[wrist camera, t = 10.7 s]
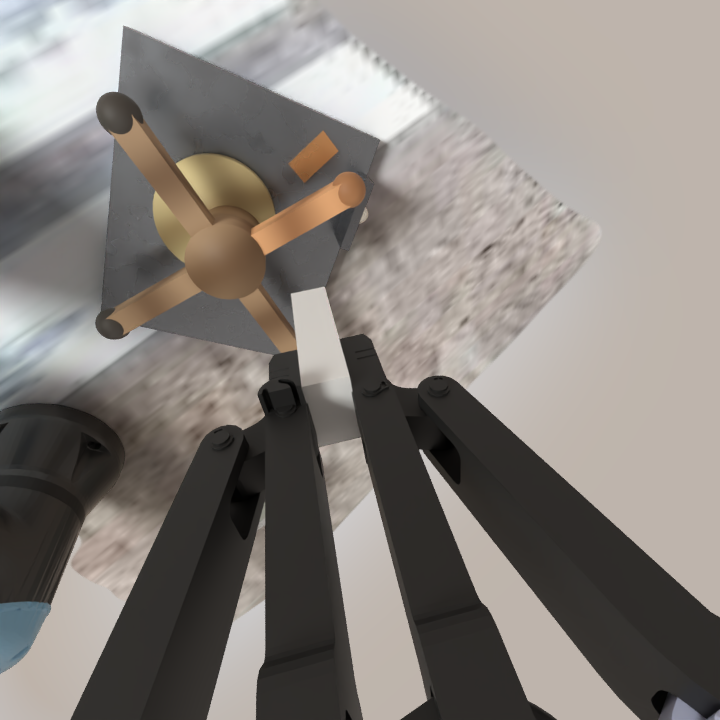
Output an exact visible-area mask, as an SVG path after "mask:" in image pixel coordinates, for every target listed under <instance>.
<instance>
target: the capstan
mask: <svg viewBox="0 0 720 720" xmlns="http://www.w3.org/2000/svg"><path fill="white" fill-rule="evenodd" d="M96 113H97V117H98V120H99V122H100V123H101V125H102V126H103V128H104V129H105V130H106V131H107V132H108V133H110V134H111V135H113V136H114V138H115V139H116V140H117V142H118V143H119V144H120V146H121V147H122V148H123V149H124V151H125V152H126V153H127V155H128V156H129V157H130V158H131V160H132V161H133V162H134V164H135V165H136V166H137V167H138V169H139V170H140V171H141V173H142V174H143V175H144V177H145V178H146V179H147V180H148V182H149V183H150V184H151V186H152V187H153V188H154V189H155V194H154V198H153V216H154V221H155V225H156V228H157V231H158V233H159V235H160V237H161V239H162V240H163V242H164V243H165V245H166V246H167V248H168V249H169V250H170V251H171V252H172V253H173V254H174V255H175V256H176V257H177V258H178V259H179V260H181V261H182V262H184V263H185V267H184V268H182V269H180V270H178V271H177V272H175V273H173V274H171V275H170V276H168V277H166V278H164V279H163V280H161V281H159V282H158V283H156V284H154V285H152V286H151V287H149V288H147V289H145V290H144V291H142V292H140V293H138V294H137V295H135V296H133V297H131V298H130V299H128V300H126V301H124V302H123V303H121V304H119V305H117V306H116V307H114V308H108V309H105V310H103V311H102V312H100V313H99V314H98V316H97V318H96V322H95V324H96V328H97V330H98V332H99V333H100V334H101V335H102V336H104V337H106V338H108V339H115V340H116V339H121V338H123V337H125V336H127V335H128V334H129V332H130V331H131V330H133V329H135V328H137V327H139V326H140V325H142V324H144V323H146V322H147V321H149V320H151V319H153V318H155V317H156V316H158V315H160V314H162V313H163V312H165V311H167V310H169V309H171V308H172V307H174V306H176V305H178V304H179V303H181V302H183V301H185V300H186V299H188V298H190V297H192V296H194V295H195V294H197V293H199V292H201V291H204V292H205V293H207V294H209V295H211V296H213V297H216V298H220V299H238V298H239V299H240V301H241V302H242V303H243V305H244V306H245V307H246V308H247V310H248V311H249V312H250V314H251V315H252V316H253V317H254V319H255V320H256V321H257V323H258V324H259V325H260V326H261V328H262V329H263V330H264V332H265V333H266V334H267V336H268V337H269V338H270V339H271V341H272V342H273V343H274V345H275V346H276V347H277V348H278V350H279V351H280V352H281V353H284V352H288V351H293V350H297V343H296V334H295V330H294V329H293V328H292V326H291V325H290V323H289V322H288V321H287V319H286V318H285V316H284V315H283V314H282V312H281V311H280V309H279V308H278V307H277V305H276V304H275V302H274V301H273V300H272V298H271V297H270V295H269V294H268V293H267V291H266V290H265V288H264V287H263V286H262V284H261V282H262V280H263V278H264V275H265V269H266V254H268V253H270V252H272V251H273V250H275V249H277V248H279V247H281V246H282V245H284V244H286V243H288V242H289V241H291V240H293V239H295V238H297V237H298V236H300V235H302V234H304V233H305V232H307V231H309V230H311V229H312V228H314V227H316V226H318V225H320V224H321V223H323V222H325V221H327V220H328V219H330V218H332V217H334V216H336V215H337V214H339V213H341V212H343V211H344V210H346V209H348V208H354V207H356V206H358V205H359V204H360V203H361V202H362V201H363V199H364V197H365V193H366V187H365V183H364V181H363V179H362V178H361V177H360V176H359V175H358V174H356V173H354V172H343V173H341V174H339V175H338V176H337V177H336V178H335V180H334V181H333V182H331V183H330V184H328V185H326V186H325V187H323V188H321V189H319V190H318V191H316V192H314V193H312V194H311V195H309V196H307V197H305V198H304V199H302V200H300V201H298V202H297V203H295V204H293V205H291V206H290V207H288V208H286V209H285V210H283V211H281V212H279V213H278V214H276V215H275V208H274V203H273V200H272V198H271V195H270V193H269V191H268V189H267V187H266V186H265V184H264V183H263V181H262V180H261V179H260V178H259V177H258V175H257V174H256V173H255V172H254V171H252V170H251V169H250V168H249V167H247V166H246V165H245V164H243V163H241V162H240V161H238V160H236V159H233V158H231V157H228V156H225V155H221V154H214V153H201V154H195V155H192V156H189V157H186V158H184V159H182V160H180V161H178V162H177V163H176V164H175V162H174V161H173V160H172V158H171V157H170V155H169V154H168V153H167V151H166V150H165V148H164V147H163V145H162V144H161V143H160V141H159V140H158V138H157V137H156V136H155V134H154V133H153V131H152V130H151V129H150V127H149V126H148V124H147V123H146V122H145V120H144V119H143V115H142V112H141V110H140V108H139V106H138V105H137V104H136V102H135V101H134V100H132V99H131V98H130V97H128V96H127V95H125V94H123V93H119V92H109V93H106V94H104V95H103V96H101V97H100V99H99V100H98V102H97V106H96Z"/></svg>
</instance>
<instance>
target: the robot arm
mask: <svg viewBox="0 0 720 720" xmlns="http://www.w3.org/2000/svg"><path fill="white" fill-rule="evenodd" d="M291 299H292V308H293V317H294V325H295V334H296V343H297V350H293V351H288V352H284V353H279V354H275V355H274V356H273V358H272V359H271V361H270V363H269V380H270V381H268V382H267V383H265V384H264V385H263V386H262V387H261V388H260V389H259V392H258V398H259V400H260V403H261V405H262V408H263V411H264V413H265V417H264V418H263V419H262V420H260V421H259V422H258V423H256V424H255V425H253V426H251V427H249V428H247V429H245V430H243V431H242V429H241V428H239V427H238V426H235V425H226V426H221V427H219V428H217V429H214V430H212V431H211V432H210V433H209V434H207V435H206V436H205V438H204V439H203V441H202V442H201V444H200V446H199V448H198V450H197V452H196V455H195V457H194V459H193V461H192V463H191V465H190V467H189V469H188V472H187V474H186V476H185V478H184V480H183V482H182V484H181V486H180V488H179V491H178V493H177V495H176V497H175V499H174V501H173V503H172V505H171V508H170V510H169V512H168V514H167V516H166V518H165V520H164V522H163V525H162V527H161V529H160V531H159V533H158V535H157V537H156V539H155V542H154V544H153V546H152V548H151V550H150V552H149V554H148V556H147V559H146V561H145V563H144V565H143V567H142V569H141V571H140V573H139V575H138V578H137V580H136V582H135V584H134V586H133V588H132V590H131V592H130V595H129V597H128V599H127V601H126V603H125V605H124V607H123V609H122V612H121V614H120V616H119V618H118V620H117V622H116V624H115V627H114V629H113V631H112V633H111V635H110V637H109V639H108V641H107V644H106V646H105V648H104V650H103V652H102V654H101V656H100V658H99V660H98V663H97V665H96V667H95V669H94V671H93V673H92V675H91V677H90V680H89V682H88V684H87V686H86V688H85V690H84V692H83V694H82V697H81V699H80V701H79V703H78V705H77V707H76V709H75V711H74V713H73V716H72V718H71V720H206V719H207V715H208V712H209V708H210V704H211V700H212V696H213V693H214V689H215V685H216V681H217V678H218V674H219V670H220V667H221V663H222V659H223V655H224V652H225V648H226V644H227V640H228V637H229V633H230V629H231V625H232V622H233V618H234V614H235V611H236V607H237V603H238V599H239V596H240V592H241V588H242V584H243V581H244V577H245V573H246V570H247V566H248V562H249V558H250V555H251V551H252V547H253V543H254V540H255V536H256V532H257V528H258V525H259V521H260V517H261V513H262V510H263V506H264V502H265V622H266V623H265V624H266V625H265V630H266V631H265V633H266V637H265V638H266V640H265V641H266V648H265V649H266V650H265V660H264V664H263V665H262V667H261V668H260V670H259V674H258V680H257V693H256V694H257V695H256V720H363V717H362V713H361V707H360V703H359V698H358V694H357V689H356V684H355V678H354V671H353V664H352V658H351V651H350V644H349V638H348V632H347V624H346V618H345V611H344V604H343V598H342V591H341V584H340V578H339V571H338V564H337V557H336V551H335V544H334V538H333V531H332V524H331V517H330V511H329V504H328V497H327V491H326V484H325V477H324V471H323V464H322V458H321V455H320V451H319V447H322V446H326V445H330V444H335V443H339V442H343V441H347V440H351V439H355V438H360V437H361V438H362V443H363V448H364V454H365V459H366V464H368V468H369V472H370V476H371V480H372V484H373V487H374V491H375V495H376V499H377V503H378V507H379V511H380V515H381V518H382V522H383V526H384V530H385V534H386V537H387V542H388V545H389V549H390V553H391V557H392V561H393V565H394V569H395V573H396V577H397V581H398V584H399V588H400V592H401V596H402V600H403V604H404V607H405V612H406V616H407V619H408V623H409V627H410V631H411V635H412V639H413V643H414V646H415V650H416V654H417V658H418V662H419V666H420V670H421V675H422V679H423V683H424V688H425V692H426V696H427V701H426V702H425V703H424V704H422V705H421V706H419V707H418V708H416V709H415V710H414V711H412V712H411V713H409V714H408V715H406V716H405V717H404V718H402V719H401V720H557V719H555V718H554V717H553V716H552V715H550V714H549V713H547V712H546V711H544V710H543V709H541V708H539V707H538V706H537V705H535V704H533V703H531V702H529V701H528V700H527V698H526V695H525V693H524V691H523V688H522V686H521V683H520V681H519V679H518V676H517V674H516V671H515V669H514V667H513V664H512V662H511V660H510V657H509V655H508V652H507V650H506V647H505V645H504V643H503V640H502V638H501V635H500V633H499V630H498V628H497V626H496V624H495V621H494V619H493V617H492V615H491V613H490V612H489V610H488V608H487V607H486V606H485V605H484V604H482V603H481V601H480V599H479V598H478V595H477V593H476V591H475V588H474V586H473V583H472V581H471V579H470V576H469V574H468V571H467V569H466V567H465V564H464V561H463V559H462V556H461V554H460V551H459V549H458V546H457V544H456V542H455V539H454V536H453V534H452V531H451V529H450V526H449V524H448V521H447V519H446V517H445V514H444V511H443V509H442V507H441V504H440V502H439V499H438V497H437V494H436V492H435V489H434V487H433V484H432V482H431V479H430V477H429V474H428V472H427V470H426V467H425V465H424V462H423V460H422V457H421V455H420V452H419V449H422V450H423V452H424V454H425V455H426V456H427V458H428V459H429V460H430V461H431V463H432V464H433V465H434V466H435V468H436V469H437V470H438V472H439V473H440V474H441V475H442V477H443V478H444V479H445V480H446V482H447V483H448V484H449V486H450V487H451V488H452V489H453V491H454V492H455V493H456V494H457V495H458V497H459V498H460V499H461V501H462V502H463V503H464V505H465V506H466V507H467V508H468V510H469V511H470V512H471V513H472V515H473V516H474V517H475V518H476V520H477V521H478V522H479V524H480V525H481V526H482V527H483V528H484V530H485V531H486V532H487V533H488V535H489V536H490V537H491V539H492V540H493V541H494V542H495V544H496V545H497V546H498V548H499V549H500V550H501V551H502V552H503V554H504V555H505V556H506V558H507V559H508V560H509V561H510V563H511V564H512V565H513V567H514V568H515V569H516V570H517V572H518V573H519V574H520V575H521V577H522V578H523V579H524V580H525V582H526V583H527V584H528V586H529V587H530V588H531V589H532V590H533V592H534V593H535V594H536V596H537V597H538V598H539V599H540V601H541V602H542V603H543V605H544V606H545V607H546V608H547V610H548V611H549V612H550V613H551V615H552V616H553V617H554V618H555V620H556V621H557V622H558V623H559V625H560V626H561V627H562V629H563V630H564V631H565V632H566V634H567V635H568V636H569V637H570V639H571V640H572V641H573V643H574V644H575V645H576V646H577V648H578V649H579V650H580V651H581V653H582V654H583V655H584V656H585V658H586V659H587V660H588V661H589V663H590V664H591V665H592V667H593V668H594V669H595V670H596V672H597V673H598V674H599V675H600V676H601V678H603V680H604V681H605V682H606V683H607V685H608V686H609V687H610V688H611V689H612V690H613V692H614V693H615V694H616V695H617V696H618V697H619V699H620V700H622V701H623V703H625V705H626V706H627V707H628V708H629V709H631V711H632V712H633V713H634V714H635V715H636V716H637V717H639V719H640V720H720V617H718V616H716V615H715V614H713V613H711V612H710V611H709V610H708V609H706V607H704V606H703V605H702V604H701V603H700V602H699V601H698V600H697V599H696V598H695V597H694V596H692V595H691V594H690V593H689V592H688V591H687V590H686V589H685V588H684V587H683V586H681V585H680V584H679V583H678V582H677V581H676V580H675V579H674V578H673V577H671V576H670V575H669V574H668V573H667V572H666V571H665V570H664V569H663V568H662V567H660V566H659V565H658V564H657V563H656V562H655V561H654V560H653V559H652V558H650V557H649V556H648V555H647V554H646V553H645V552H644V551H643V550H642V549H641V548H639V547H638V546H637V545H636V544H635V543H634V542H633V541H632V540H631V539H630V538H629V537H627V536H626V535H625V534H624V533H623V532H622V531H621V530H620V529H619V528H617V527H616V526H615V525H614V524H613V523H612V522H611V521H610V520H609V519H607V517H605V516H604V515H603V514H602V513H601V512H600V511H599V510H598V509H597V508H595V507H594V506H593V505H592V504H591V503H590V502H589V501H588V500H587V499H585V498H584V497H583V496H582V495H581V494H580V493H579V492H578V491H577V490H576V489H575V488H573V487H572V486H571V485H570V484H569V483H568V482H567V481H566V480H565V479H564V478H562V477H561V476H560V475H559V474H558V473H557V472H556V471H555V470H554V469H553V468H551V467H550V466H549V465H548V464H547V463H546V462H544V460H543V459H542V458H540V457H539V456H538V455H537V454H536V453H535V452H534V451H533V450H532V449H530V448H529V447H528V446H527V445H526V444H525V443H524V442H523V441H522V440H520V439H519V438H518V437H517V436H516V435H515V434H514V433H513V432H512V431H511V430H510V429H508V428H507V427H506V426H505V425H504V424H503V423H502V422H501V421H500V420H498V419H497V418H496V417H495V416H494V415H493V414H492V413H491V412H490V411H489V410H488V409H486V408H485V407H484V406H483V405H482V404H481V403H480V402H479V401H478V400H477V399H475V398H474V397H473V396H472V395H471V394H470V393H469V392H468V391H467V390H465V389H464V388H463V387H462V386H461V385H460V384H459V383H458V382H457V381H455V380H454V379H452V378H450V377H446V376H432V377H428V378H426V379H424V380H423V381H421V383H420V384H419V385H418V388H401V387H397V386H395V385H393V384H391V382H390V381H389V380H387V378H386V376H385V373H384V371H383V368H382V366H381V363H380V361H379V358H378V356H377V353H376V351H375V349H374V346H373V343H372V341H371V339H369V338H368V337H367V336H365V335H364V334H360V335H356V336H351V337H347V338H342V339H339V336H338V333H337V329H336V325H335V322H334V318H333V315H332V311H331V307H330V304H329V300H328V297H327V293H326V289H325V287H320V288H315V289H311V290H306V291H301V292H296V293H292V294H291ZM318 445H319V447H318ZM124 460H125V452H124V448H123V445H122V443H121V441H120V439H119V438H118V436H117V435H116V434H115V433H114V432H113V431H112V430H111V429H110V428H109V427H108V426H107V425H105V424H104V423H103V422H101V421H100V420H98V419H96V418H94V417H92V416H90V415H88V414H86V413H84V412H81V411H78V410H75V409H71V408H68V407H63V406H58V405H50V404H27V405H20V406H15V407H11V408H8V409H5V410H2V411H0V674H1V673H2V672H4V671H6V670H8V669H10V668H11V667H12V666H14V665H15V664H17V662H19V661H20V660H21V659H22V658H23V657H24V656H25V655H26V654H27V652H28V651H29V650H30V648H31V646H32V644H33V642H34V640H35V638H36V636H37V634H38V632H39V630H40V628H41V626H42V624H43V622H44V620H45V618H46V616H48V614H49V613H50V610H51V606H50V605H51V603H52V600H53V598H54V595H55V593H56V590H57V588H58V585H59V582H60V580H61V577H62V575H63V572H64V570H65V568H66V565H67V563H68V560H69V557H70V555H71V553H72V550H73V548H74V545H75V542H76V540H77V537H78V535H79V532H80V530H81V527H82V525H83V522H84V520H85V518H86V516H87V515H88V514H89V513H90V512H91V511H92V510H93V509H94V507H95V506H96V505H97V504H98V503H99V502H100V501H101V499H102V498H103V497H104V496H105V495H106V494H107V493H108V492H109V490H110V489H111V488H112V487H113V486H114V484H115V483H116V481H117V479H118V477H119V475H120V472H121V469H122V467H123V464H124Z"/></svg>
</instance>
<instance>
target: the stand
mask: <svg viewBox="0 0 720 720" xmlns="http://www.w3.org/2000/svg"><path fill="white" fill-rule="evenodd" d="M118 92H119V93H123V94H125V95H127V96H128V97H130V98H131V99H132V100H134V101H135V102H136V104H137V105H138V106H139V108H140V110H141V112H142V115H143V119H144V120H145V122H146V123H147V124H148V126H149V127H150V129H151V130H152V131H153V133H154V134H155V136H156V137H157V138H158V140H159V141H160V143H161V144H162V145H163V147H164V148H165V150H166V151H167V153H168V154H169V155H170V157H171V158H172V160H173V161H174V162H175V164H176V163H177V162H178V161H180V160H182V159H184V158H186V157H189V156H192V155H195V154H201V153H214V154H221V155H225V156H228V157H231V158H233V159H236V160H238V161H240V162H241V163H243V164H245V165H246V166H247V167H249V168H250V169H251V170H252V171H254V172H255V173H256V174H257V175H258V177H259V178H260V179H261V180H262V181H263V183H264V184H265V186H266V187H267V189H268V191H269V193H270V195H271V198H272V200H273V203H274V208H275V215H276V214H278V213H279V212H281V211H283V210H285V209H286V208H288V207H290V206H291V205H293V204H295V203H297V202H298V201H300V200H302V199H304V198H305V197H307V196H309V195H311V194H312V193H314V192H316V191H318V190H319V189H321V188H323V187H325V186H326V185H328V184H330V183H331V182H333V181H334V180H335V178H336V177H337V176H338V175H339V174H341V173H343V172H354V173H356V174H358V175H359V176H360V177H361V178H362V179H363V181H364V183H365V187H366V193H365V197H364V199H363V201H362V202H361V203H360V204H359V205H358V206H356V207H354V208H348V209H346V210H344V211H343V212H341V213H339V214H337V215H336V216H334V217H332V218H330V219H328V220H327V221H325V222H323V223H321V224H320V225H318V226H316V227H314V228H312V229H311V230H309V231H307V232H305V233H304V234H302V235H300V236H298V237H297V238H295V239H293V240H291V241H289V242H288V243H286V244H284V245H282V246H281V247H279V248H277V249H275V250H273V251H272V252H270V253H268V254H266V269H265V275H264V278H263V280H262V282H261V284H262V286H263V287H264V288H265V290H266V291H267V293H268V294H269V295H270V297H271V298H272V300H273V301H274V302H275V304H276V305H277V307H278V308H279V309H280V311H281V312H282V314H283V315H284V316H285V318H286V319H287V321H288V322H289V323H290V325H291V326H292V328H293V329H294V330H295V325H294V317H293V308H292V299H291V294H292V293H296V292H301V291H306V290H311V289H315V288H320V287H326V284H327V281H328V279H329V276H330V273H331V271H332V268H333V265H334V263H335V260H336V257H337V254H338V252H339V249H340V248H341V249H344V250H347V251H349V249H350V246H351V244H352V241H353V238H354V236H355V233H356V230H357V228H358V225H359V223H363V222H365V221H366V220H367V218H368V210H367V208H366V204H367V202H368V199H369V196H370V194H371V191H372V189H373V186H374V183H373V182H372V181H371V180H370V179H369V178H368V177H367V173H368V171H369V168H370V165H371V163H372V160H373V157H374V154H375V152H376V149H377V146H378V144H379V141H380V140H379V139H377V138H376V137H373V136H371V135H369V134H367V133H364V132H362V131H360V130H358V129H355V128H353V127H351V126H349V125H346V124H344V123H342V122H340V121H337V120H335V119H333V118H331V117H329V116H326V115H324V114H322V113H320V112H317V111H315V110H313V109H311V108H308V107H306V106H304V105H302V104H299V103H297V102H295V101H293V100H290V99H288V98H286V97H284V96H281V95H279V94H277V93H275V92H273V91H270V90H268V89H266V88H264V87H261V86H259V85H257V84H255V83H252V82H250V81H248V80H246V79H243V78H241V77H239V76H237V75H234V74H232V73H230V72H228V71H225V70H223V69H221V68H219V67H217V66H214V65H212V64H210V63H208V62H205V61H203V60H201V59H199V58H196V57H194V56H192V55H190V54H187V53H185V52H183V51H181V50H178V49H176V48H174V47H172V46H169V45H167V44H165V43H163V42H161V41H158V40H156V39H154V38H152V37H149V36H147V35H145V34H143V33H140V32H138V31H136V30H134V29H131V28H129V27H126V26H123V38H122V50H121V63H120V76H119V89H118ZM154 194H155V189H154V188H153V187H152V186H151V184H150V183H149V182H148V180H147V179H146V178H145V177H144V175H143V174H142V173H141V171H140V170H139V169H138V167H137V166H136V165H135V164H134V162H133V161H132V160H131V158H130V157H129V156H128V155H127V153H126V152H125V151H124V149H123V148H122V147H121V146H120V144H119V143H118V142H117V140H116V139H115V140H114V152H113V165H112V178H111V191H110V203H109V216H108V229H107V242H106V255H105V267H104V280H103V293H102V306H101V312H102V311H103V310H105V309H108V308H114V307H116V306H117V305H119V304H121V303H123V302H124V301H126V300H128V299H130V298H131V297H133V296H135V295H137V294H138V293H140V292H142V291H144V290H145V289H147V288H149V287H151V286H152V285H154V284H156V283H158V282H159V281H161V280H163V279H164V278H166V277H168V276H170V275H171V274H173V273H175V272H177V271H178V270H180V269H182V268H184V267H185V263H184V262H182V261H181V260H179V259H178V258H177V257H176V256H175V255H174V254H173V253H172V252H171V251H170V250H169V249H168V248H167V246H166V245H165V243H164V242H163V240H162V239H161V237H160V235H159V233H158V231H157V228H156V225H155V221H154V216H153V198H154ZM140 326H141V327H146V328H151V329H155V330H160V331H165V332H169V333H174V334H179V335H183V336H188V337H192V338H197V339H202V340H206V341H211V342H216V343H220V344H225V345H230V346H234V347H239V348H244V349H248V350H253V351H258V352H262V353H267V354H272V355H275V354H279V353H281V352H280V351H279V350H278V348H277V347H276V346H275V345H274V343H273V342H272V341H271V339H270V338H269V337H268V336H267V334H266V333H265V332H264V330H263V329H262V328H261V326H260V325H259V324H258V323H257V321H256V320H255V319H254V317H253V316H252V315H251V314H250V312H249V311H248V310H247V308H246V307H245V306H244V305H243V303H242V302H241V301H240V299H239V298H238V299H220V298H216V297H213V296H211V295H209V294H207V293H205V292H204V291H201V292H199V293H197V294H195V295H194V296H192V297H190V298H188V299H186V300H185V301H183V302H181V303H179V304H178V305H176V306H174V307H172V308H171V309H169V310H167V311H165V312H163V313H162V314H160V315H158V316H156V317H155V318H153V319H151V320H149V321H147V322H146V323H144V324H142V325H140Z"/></svg>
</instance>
